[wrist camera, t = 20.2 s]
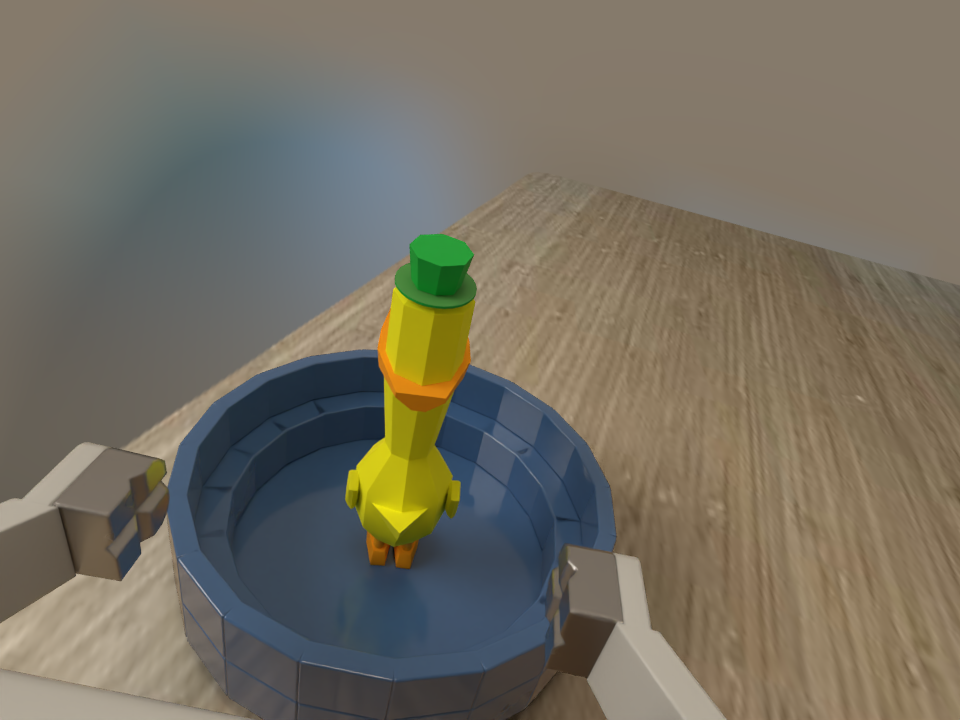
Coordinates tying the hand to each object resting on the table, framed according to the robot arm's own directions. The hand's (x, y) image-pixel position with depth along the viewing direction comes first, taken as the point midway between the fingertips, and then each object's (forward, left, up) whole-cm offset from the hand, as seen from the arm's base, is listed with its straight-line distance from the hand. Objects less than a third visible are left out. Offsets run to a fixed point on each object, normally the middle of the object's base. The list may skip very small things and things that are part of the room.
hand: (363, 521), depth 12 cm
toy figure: (0, +6, -8) cm, 11 cm away
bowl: (0, +6, -9) cm, 11 cm away
